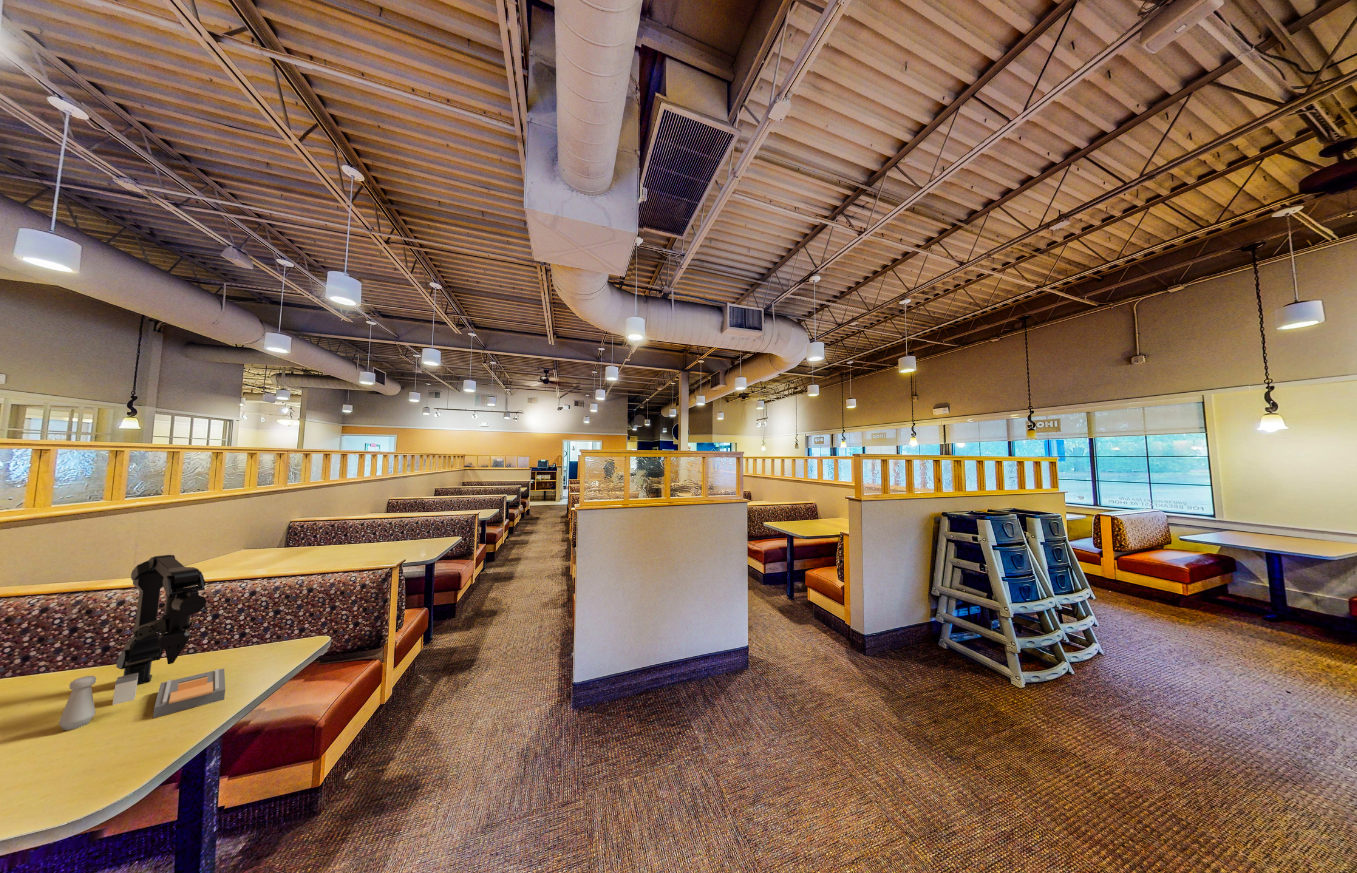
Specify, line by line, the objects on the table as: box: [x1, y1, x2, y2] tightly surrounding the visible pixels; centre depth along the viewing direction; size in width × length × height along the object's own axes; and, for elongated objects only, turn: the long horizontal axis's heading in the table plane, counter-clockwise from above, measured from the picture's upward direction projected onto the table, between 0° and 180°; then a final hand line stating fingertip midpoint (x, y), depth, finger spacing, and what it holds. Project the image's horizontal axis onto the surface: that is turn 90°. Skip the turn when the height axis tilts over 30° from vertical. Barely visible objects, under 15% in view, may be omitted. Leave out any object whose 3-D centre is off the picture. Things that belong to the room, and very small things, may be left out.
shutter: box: [169, 677, 213, 704], centre depth 127 cm, size 9×9×3 cm
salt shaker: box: [58, 675, 97, 731], centre depth 116 cm, size 6×6×13 cm
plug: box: [112, 673, 139, 706], centre depth 129 cm, size 4×4×7 cm
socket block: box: [152, 668, 226, 719], centre depth 132 cm, size 22×14×4 cm, turn 49°
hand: (171, 659), depth 131 cm, fingers open, 9 cm apart
